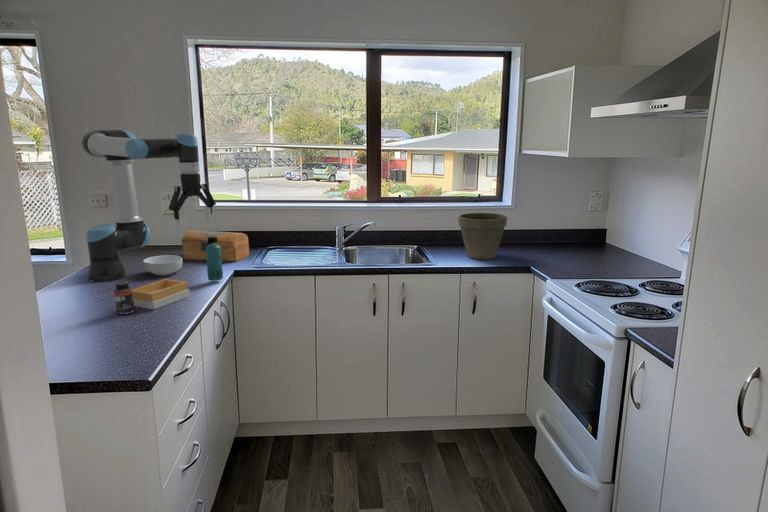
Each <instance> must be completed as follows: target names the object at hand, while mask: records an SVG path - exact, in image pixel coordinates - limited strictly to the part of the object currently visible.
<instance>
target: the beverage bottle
mask: <svg viewBox="0 0 768 512" xmlns="http://www.w3.org/2000/svg"><path fill="white" fill-rule="evenodd" d="M216 242H218V240H217V237H209V238H208V243H216ZM206 257H207V261H206V270H207V271H206V272H207V279H208V281H210V282H211V281H213V282H215V281H221V280H223V278H224V276H223V275H224V273H223V272H224V270H223V263H222V258H221V257H222V255H221V247H220V246H219V245H218V244H210V245H208V246H207V247H206Z"/></svg>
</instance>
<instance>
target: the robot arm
mask: <svg viewBox="0 0 768 512" xmlns="http://www.w3.org/2000/svg"><path fill="white" fill-rule="evenodd" d="M81 148H82V149H83V151H84V152H85V153H86V154H87V155H89V156H91V157H93V158H94V157H95V158H105V160H106V162H107V163H108V164H110V168H111V177H112V182H113V187H114V188H113V189H114V194H115V196H114V197H115V201H116V208H117V209H116V211H117V219H116V220H115V224H113V223H106V224H105V223H104V224H99V225H94V226H92V227H90V228H88V229H87V231H86V242H87V247H88V248H87V249H88V256H89V257H88V258H89V265H88V266H89V267H88V272H87V280H88V279H89V280H88V281H90V280H93V281H92V282H109V280H110V281H114V280H115V281H116V280H120V279H122V278H124V277H126V276H127V274H126V269H125V267H124V266H123V264H122V261H121V259H120V252H126V251H129V250H134V249H135V250H136V249H140V248H145V247H146V246H147V245H148V244H149V242H150V240H151V235H152V234H151V228H150V227H149V224H148V223H146V222H144V219H143V217H141V216H140V212H139V206H138V205H139V204H138V199H137V198H138V197H137V192H136V183H135V178H134V169H133V163H134V162H135V161H136V160H144V159H145V160H147V159H170V158H171V159H173V158H178V165H179V173H180V174H179V176H180V183H181V186H179V185H174V187H173V188H174V189H173V190H174V191H173V194H172V197H171V201H170V203H169V205H168V210H169V211H172V212H173V218H174V220H176V227H177V228H180V229H181V228H183V219H182V218H183V217H182V211H180V210H181V208H182V207H183V205H184V203H185V202H186V200H187V199H188V198H189V197H193V196H194V197H198V198H199V199H200V201H202V203H203V204H204V205H205V207H204V211H205V212H204V213H205V223H208V224H212V214H213V207H214V206H215V205H216V204H217V203H216V201H215V199H214V197H213V196H212V193H211V192H210V189H209V186H208V185H209V184H207V183H201V182H202V181H201V174H200V161H199V160H200V157H199V156H200V155H199V143H198V138H197V135H196V134H194V133H178V134H177V135H176V138H169V137H167V138H137V137H136V135H134V133H132V132H131V131H130V130H125V129H114V130H113V129H102V130H101V129H96V130H95V129H94V130H90V131H88V132H87V133H85V134H84V135H83V137H82V139H81ZM201 190H202V191H203V192H202V191H201Z"/></svg>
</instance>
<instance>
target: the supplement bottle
mask: <svg viewBox="0 0 768 512" xmlns="http://www.w3.org/2000/svg"><path fill="white" fill-rule="evenodd" d="M115 287H116V288H115V289H114V290H113V294H114V302H115V308H116V313H117V312H119V313H127V312H131V311H134V310H135V311H136V309H135V308H136V307H134V299H133V292H132V290H133V288H132V287H130V286H129V282H128V281H119V282H116V283H115ZM135 311H134V312H135Z"/></svg>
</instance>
